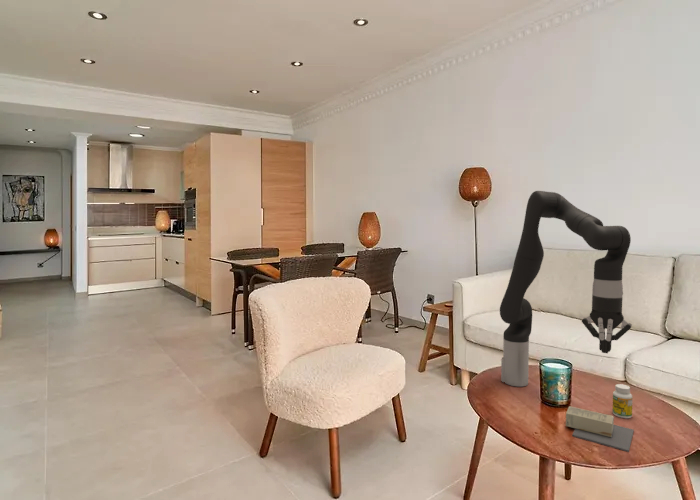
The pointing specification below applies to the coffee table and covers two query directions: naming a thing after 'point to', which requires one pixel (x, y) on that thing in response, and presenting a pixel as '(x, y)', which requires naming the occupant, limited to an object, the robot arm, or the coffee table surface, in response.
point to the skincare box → (590, 421)
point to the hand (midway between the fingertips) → (605, 352)
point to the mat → (618, 440)
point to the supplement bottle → (622, 401)
